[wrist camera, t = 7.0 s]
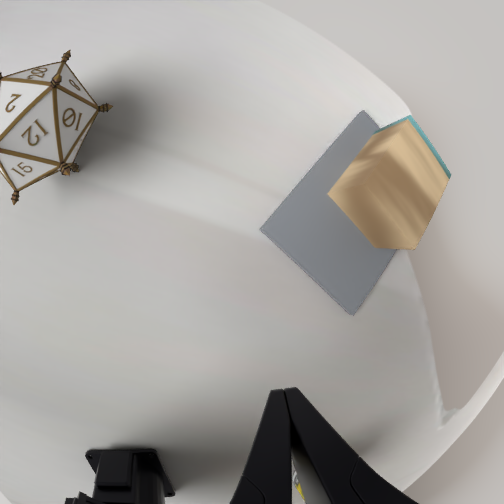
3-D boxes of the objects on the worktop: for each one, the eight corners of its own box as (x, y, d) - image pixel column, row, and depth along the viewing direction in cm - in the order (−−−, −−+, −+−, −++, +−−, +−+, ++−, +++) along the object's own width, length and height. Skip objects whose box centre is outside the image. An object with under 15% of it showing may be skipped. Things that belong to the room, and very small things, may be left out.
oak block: (414, 249, 17) (451, 174, 18) (363, 183, 16) (410, 114, 17) (374, 248, 22) (414, 182, 23) (326, 193, 20) (375, 131, 21)
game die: (56, 150, 19) (-10, 70, 10) (140, 110, 18) (78, 0, 9) (25, 244, 15) (-78, 161, 6) (119, 209, 14) (-4, 65, 5)
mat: (349, 313, 22) (353, 315, 21) (259, 229, 20) (262, 229, 19) (423, 193, 24) (427, 192, 23) (359, 112, 22) (363, 109, 21)
